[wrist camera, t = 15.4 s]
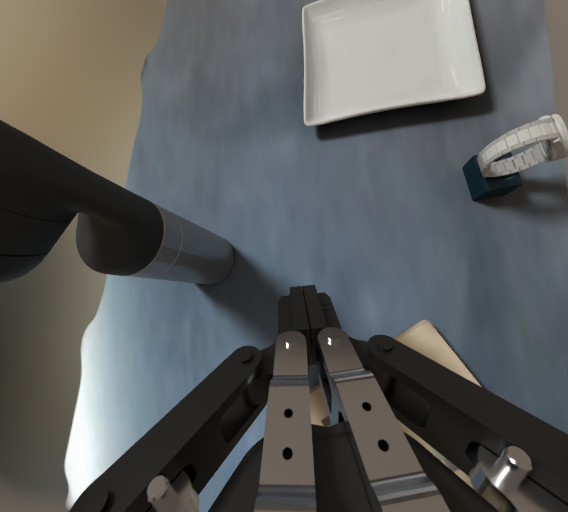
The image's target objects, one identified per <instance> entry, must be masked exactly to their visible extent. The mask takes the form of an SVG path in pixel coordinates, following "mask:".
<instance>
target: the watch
mask: <svg viewBox="0 0 568 512" xmlns="http://www.w3.org/2000/svg"><path fill="white" fill-rule="evenodd" d="M507 134H508V135H507ZM507 134H505V135H503V136H501V137H499V138H498V139H496V140H495V141H493V142H492V143H490V144H489V145H487V146H486V147H485V148H484V149H483V150H482V151H480V152H479V154H478V155H475V156H473V157H472V158H471V159H470V160H469V161H468V162H467V163H466V164H465V165H464V166H463V168H462V169H463V172H464V175H465V178H466V181H467V184H468V188H469V191H470V194H471V197H472V200H473V201H474V200H479V199H484V198H490V197H495V196H500V195H506V194H508V193H509V192H511V191H513V190H514V189H516V188H517V187H519V186H521V185H522V184H523V183H522V180H521V178H520V175H519V171H522V170H525V169H528V168H530V167H533V166H535V165H538V164H540V163H542V162H544V161H545V162H546V163H547V162H550V161H554V160H557V159H560V158H565V157H568V130H567V128H566V125H565V123H564V121H563V119H562V118H561V117H560V116H559V115H558V114H554V115H552V116H548V115H546V116H543V117H541V118H540V119H539V120H538V121H534V122H531V123H528V124H526V125H523V126H521V127H519V128H516V129H514V130H512V131H510V132H508V133H507ZM516 134H517V135H516ZM517 137H518V138H517ZM518 139H519V140H518ZM505 140H506V141H505ZM519 142H520V143H519ZM536 142H538V143H539V144H537V145H535V146H534V147H532V148H530V149H528V150H526V151H525V152H522V153H520V154H517V155H516V156H512V154H511V152H512V151H513V150H517V149H520V148H522V147H524V146H528V145H531V144H534V143H536ZM506 143H507V144H506ZM532 152H533V153H532ZM525 154H526V155H525ZM515 157H516V158H515ZM522 157H523V158H522ZM534 157H535V158H534ZM523 159H524V160H523ZM524 162H525V163H524ZM525 164H526V165H525ZM529 164H530V165H529ZM519 168H520V169H519Z"/></svg>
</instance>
